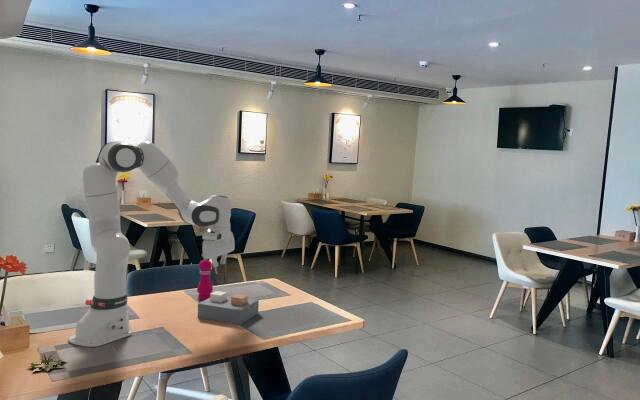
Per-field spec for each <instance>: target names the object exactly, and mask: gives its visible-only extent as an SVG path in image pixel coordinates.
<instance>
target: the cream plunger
mask: <svg viewBox="0 0 640 400" xmlns="http://www.w3.org/2000/svg"><path fill="white" fill-rule="evenodd" d="M227 295H228V292H227V291H220V290H215V291H212V293H211V294H210V301H213V302H219V303H221V302H223V301H225V300H227Z"/></svg>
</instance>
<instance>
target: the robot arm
mask: <svg viewBox="0 0 640 400" xmlns="http://www.w3.org/2000/svg"><path fill="white" fill-rule="evenodd" d="M135 169H139V171H141V172H142V173H143V174H144V176H145V177H146V178H147V179H148V180H149V181H150V182H151V183H152V184H154V186H156V187H157V188H158V189H159V190H161V191H162V192H164V194H165V195H166V196H167V198H168V199H169V200H171V202H172V203H173V204H174V205H175V207H176V209H177V212H178V215H179V217H180V219H181V220H182V222H183V223H186V224H188V225H192V226H195V227H198V228H204V227H208V229H207V230H206V231H205V232H203V234H202V238H201V239H202V240H203V241H202V257H203V258H207V260H211V263H212V267H213V268H217V267H219V264H220V265H225V264H226V259H227V257H228V254H229V253H231V252H234V250H235V249H236V248H235V247H236V246H235V245H236V244H235V237H234V233H233V232H232V230H231V221H230V219H231V217H232V214H231V213H232V210H231V209H232V208H231V200H230V198H229V197H228V196H226V195H221V194H215V193H214V194H211V195H210V197H208V198H207V199H205V200H203V201H200V202H198V201H197V200H194V199H192V198H190V197H189V196H188V195H187V193H186V192H185V191H184V190H183V189H182V187H181V186H180V185H179V183H178V179H179V170H178V169H177V167H176V165H175V164H174V162H173V161H172V160H171V158H169V157H168V155H166V153H165V152H163V150H162V149H161V148H159V147H158V146H157V145H156V144H154V143H153V142H151V141H143V142H140V143H138V144H137V145H133V144H130V143H127V142H124V141H123V142H122V141H110V142H108V143H105V144H104V145H103V146H102V147H101V148H100V149H99V152H98V155H97V158H96V161H95V162H94V163H91V164H89V165H87V166H86V167H84V170H83V171H82V174H83V175H82V181H83V182H82V184H83V186H82V187H83V194H84V200H85V204H86V211H87V216H88V227H89V237H90V244H91V248H92V250H93V251H94V252H95V253H96V262H95V263H96V264H95V270H94V271H95V272H94V275H93V277H94V279H93V286H94V287H93V290H94V293H93V294H94V295H93V297H92V299H85V301H84V305H86V306H90V308H89V309H88V310H87V311H86V312H85V314H84V315H83V316H82V317H81V318H80V320H79V321H77V323H76V327H75V334H72V335H71V336H69V337H68V338H67V340H68V343H71V344H72V345H77V346H82V347H88V348H89V347H90V348H91V347H92V348H93V347H95V348H97V347H100V346H103V345H106V344H109V343H112V342H115V341H118V340H120V339H123V338H126V337H129V336H132V329H131V326H130V325H131V324H130V317H129V312H128V307H127V304H128V298H129V297H128V294H127V270H128V269H127V268H128V263H129V256H130V255H129V254H130V253H131V245H130V242H129V239H128V238H127V236H125V235H124V234H123V232H122V230H121V212H122V211H121V206H120V201H119V194H118V189H117V184H116V183H117V182H116V179H117V175H118V174H119V173H128V172H131V171H133V170H135ZM220 256H221V258H220V259H219V262H218V260H217V259H218V257H220Z"/></svg>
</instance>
